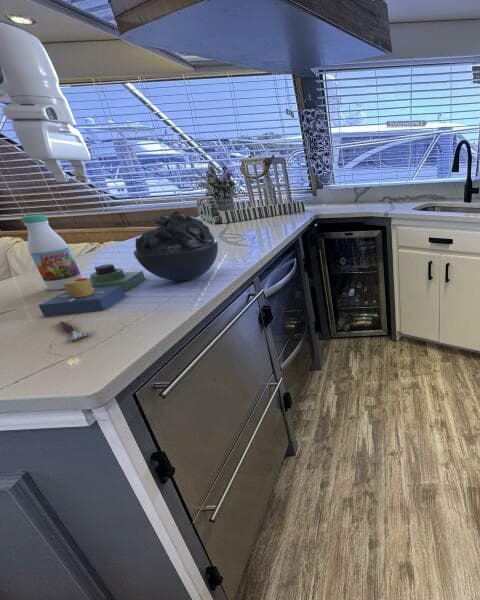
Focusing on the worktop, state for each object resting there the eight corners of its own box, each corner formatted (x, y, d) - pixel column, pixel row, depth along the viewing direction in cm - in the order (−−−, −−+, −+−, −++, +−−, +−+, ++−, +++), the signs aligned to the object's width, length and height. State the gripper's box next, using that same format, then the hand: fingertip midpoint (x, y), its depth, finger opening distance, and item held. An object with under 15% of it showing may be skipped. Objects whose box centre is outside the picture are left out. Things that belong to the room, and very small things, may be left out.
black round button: (94, 276, 87) (91, 269, 86) (103, 272, 90) (100, 265, 89) (110, 274, 87) (107, 267, 86) (119, 270, 91) (116, 263, 90)
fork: (69, 321, 70) (65, 313, 70) (93, 339, 62) (89, 330, 61) (53, 326, 68) (48, 317, 68) (76, 345, 60) (71, 336, 59)
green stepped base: (75, 296, 85) (68, 280, 83) (100, 283, 94) (93, 269, 92) (127, 291, 87) (120, 275, 85) (145, 279, 96) (140, 264, 94)
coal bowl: (192, 292, 84) (169, 219, 77) (127, 290, 87) (99, 220, 80) (239, 268, 102) (224, 208, 95) (183, 268, 105) (165, 209, 98)
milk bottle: (41, 289, 91) (4, 218, 83) (73, 280, 98) (42, 213, 90) (59, 291, 89) (22, 218, 81) (91, 282, 95) (60, 213, 88)
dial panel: (44, 316, 73) (37, 304, 72) (72, 301, 81) (66, 290, 80) (104, 310, 75) (98, 298, 74) (125, 296, 83) (121, 284, 82)
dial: (65, 298, 75) (57, 283, 73) (78, 292, 78) (71, 277, 77) (86, 296, 75) (79, 281, 74) (98, 290, 79) (92, 275, 78)
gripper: (52, 120, 79) (77, 180, 84) (-5, 107, 61) (30, 183, 67) (84, 121, 81) (106, 179, 87) (38, 108, 64) (69, 182, 69)
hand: (73, 181), depth 77 cm, fingers open, 8 cm apart
